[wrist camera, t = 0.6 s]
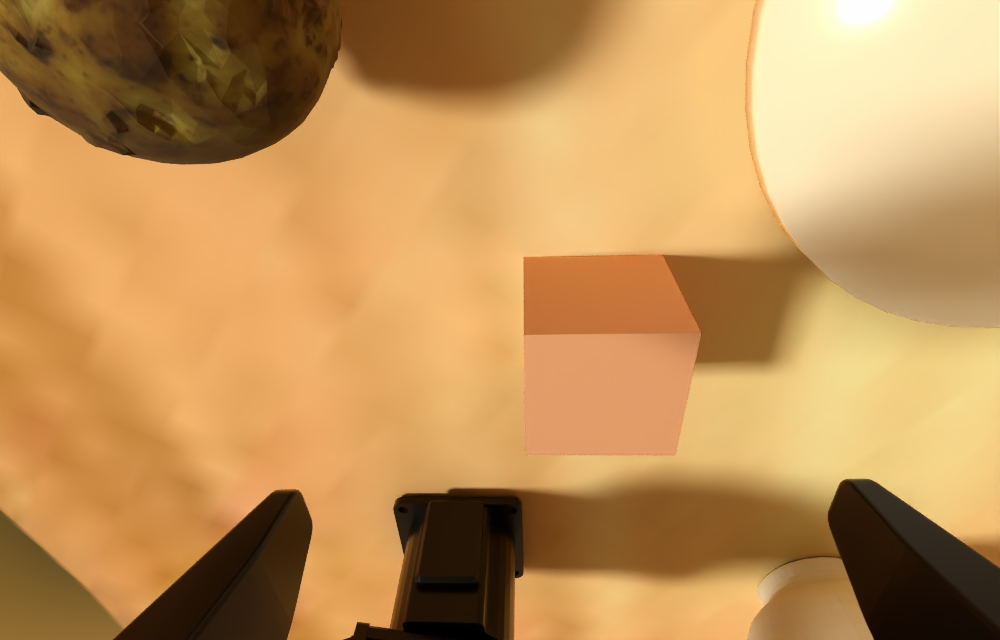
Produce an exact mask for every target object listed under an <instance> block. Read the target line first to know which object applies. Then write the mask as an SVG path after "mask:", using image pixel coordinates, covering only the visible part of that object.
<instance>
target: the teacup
mask: <svg viewBox="0 0 1000 640" xmlns="http://www.w3.org/2000/svg"><path fill="white" fill-rule="evenodd" d="M758 597H759V600H760V601H761V603H762V604H763V606H764V607H763V608H762V609H761V610H760V612H759V613H758V614H757V615H756V617H755V618H754V620H753V621H752V623H751V626H750V629H749V632H748V638H747V640H874V639H873V637H872V635H871V633H870V631H869V628H868V626H867V624H866V622H865V620H864V617H863V615H862V612H861V610H860V607H859V605H858V602H857V599H856V597H855V594H854V591H853V589H852V586H851V583H850V581H849V578H848V575H847V573H846V570H845V567H844V565H843V562H842V559H839V558H833V557H816V558H807V559H802V560H798V561H794V562H790V563H788V564H785V565H783V566H781V567H779V568H777V569H775V570H774V571H772V572H771V573H769V574H768V575H767V576H766V577H765V578H764V579H763V580H762V582H761V583H760V585H759V588H758Z"/></svg>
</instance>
